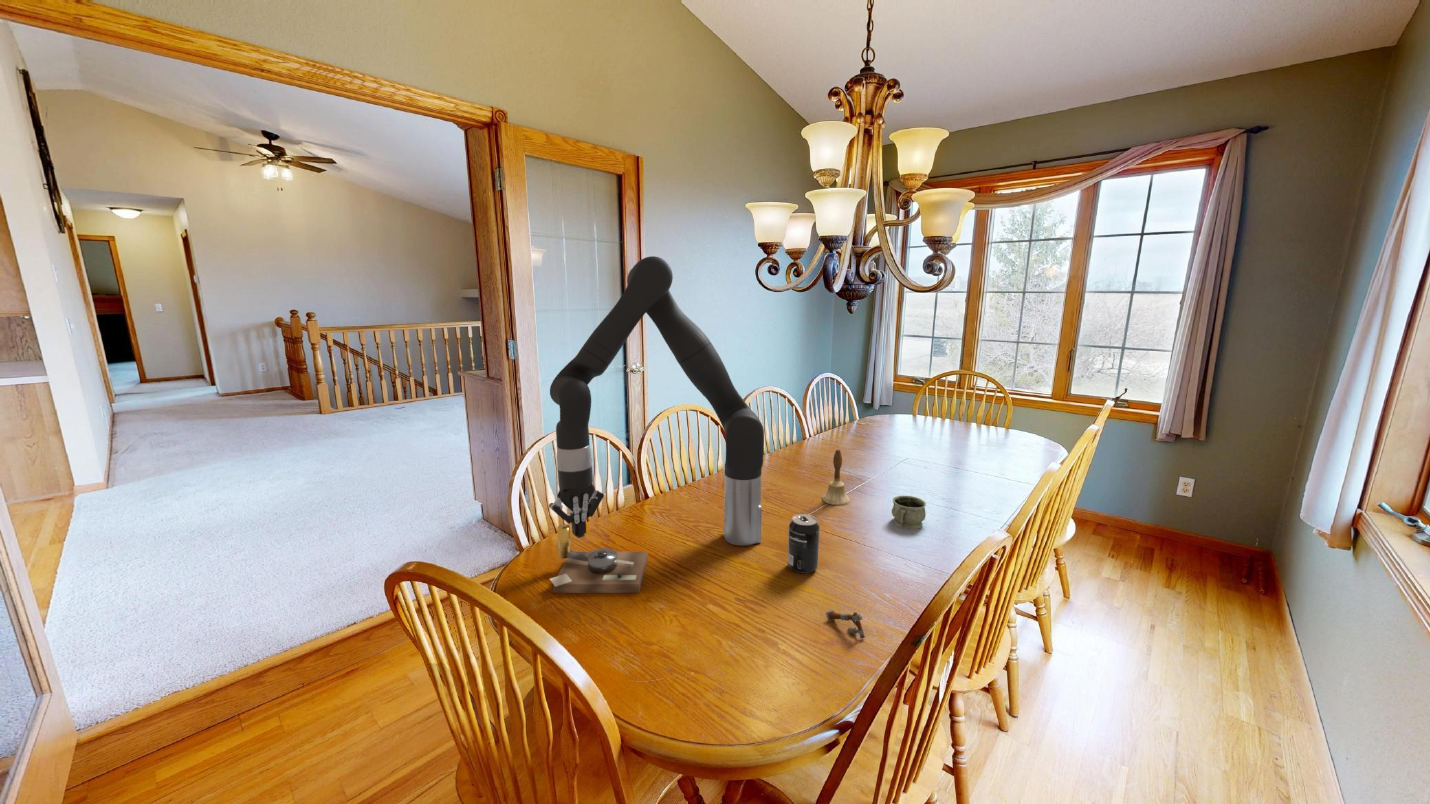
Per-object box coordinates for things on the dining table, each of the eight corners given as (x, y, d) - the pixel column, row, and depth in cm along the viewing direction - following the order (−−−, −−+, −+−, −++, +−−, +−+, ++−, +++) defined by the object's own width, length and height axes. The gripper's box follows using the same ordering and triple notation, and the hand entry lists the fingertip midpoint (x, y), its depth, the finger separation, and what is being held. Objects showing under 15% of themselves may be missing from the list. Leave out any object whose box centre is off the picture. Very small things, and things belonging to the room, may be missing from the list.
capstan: (639, 563, 117) (638, 531, 115) (626, 578, 111) (625, 544, 109) (568, 551, 122) (566, 520, 120) (552, 564, 116) (549, 532, 114)
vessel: (899, 511, 151) (901, 491, 149) (931, 519, 145) (933, 498, 144) (883, 525, 141) (885, 504, 140) (916, 535, 136) (918, 512, 135)
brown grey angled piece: (864, 640, 93) (857, 614, 94) (831, 635, 100) (825, 611, 100) (870, 636, 95) (863, 611, 95) (838, 632, 101) (831, 608, 102)
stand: (647, 559, 123) (647, 547, 123) (638, 595, 109) (638, 582, 108) (565, 559, 123) (564, 547, 122) (545, 595, 108) (544, 582, 108)
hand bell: (850, 506, 154) (853, 454, 151) (821, 504, 156) (824, 452, 152) (849, 496, 162) (852, 446, 159) (822, 493, 164) (824, 444, 160)
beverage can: (808, 558, 124) (810, 511, 121) (823, 572, 118) (825, 523, 115) (782, 563, 122) (784, 515, 119) (796, 578, 115) (798, 527, 113)
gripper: (593, 454, 124) (597, 522, 128) (539, 467, 116) (545, 539, 119) (609, 462, 118) (613, 533, 122) (553, 475, 110) (559, 551, 114)
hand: (579, 536), depth 121 cm, fingers closed
